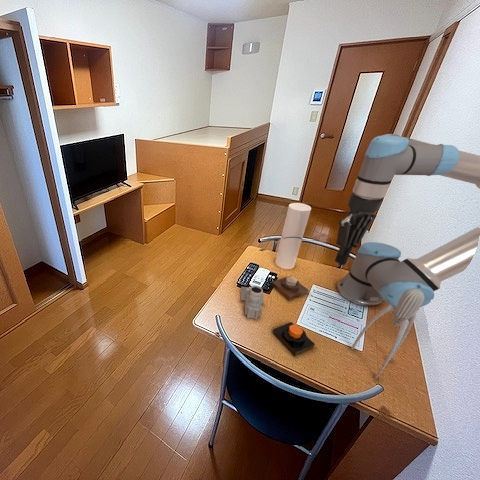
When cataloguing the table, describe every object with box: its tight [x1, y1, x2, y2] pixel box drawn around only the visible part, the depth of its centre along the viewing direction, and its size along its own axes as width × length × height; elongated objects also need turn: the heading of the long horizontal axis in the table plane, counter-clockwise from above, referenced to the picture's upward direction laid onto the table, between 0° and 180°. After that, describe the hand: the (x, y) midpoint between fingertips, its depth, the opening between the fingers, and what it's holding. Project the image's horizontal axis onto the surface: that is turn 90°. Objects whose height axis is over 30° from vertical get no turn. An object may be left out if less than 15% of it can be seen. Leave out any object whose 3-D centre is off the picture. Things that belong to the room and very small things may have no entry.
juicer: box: [350, 289, 425, 380], centre depth 73 cm, size 10×9×30 cm
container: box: [274, 202, 312, 270], centre depth 118 cm, size 9×9×30 cm
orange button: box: [288, 324, 304, 338], centre depth 86 cm, size 4×4×2 cm
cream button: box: [286, 275, 298, 286], centre depth 108 cm, size 4×4×2 cm
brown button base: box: [270, 275, 309, 302], centre depth 109 cm, size 10×10×4 cm
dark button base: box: [272, 321, 316, 357], centre depth 88 cm, size 8×10×4 cm
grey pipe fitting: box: [239, 284, 264, 320], centre depth 100 cm, size 9×12×15 cm
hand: (340, 262), depth 85 cm, fingers closed
